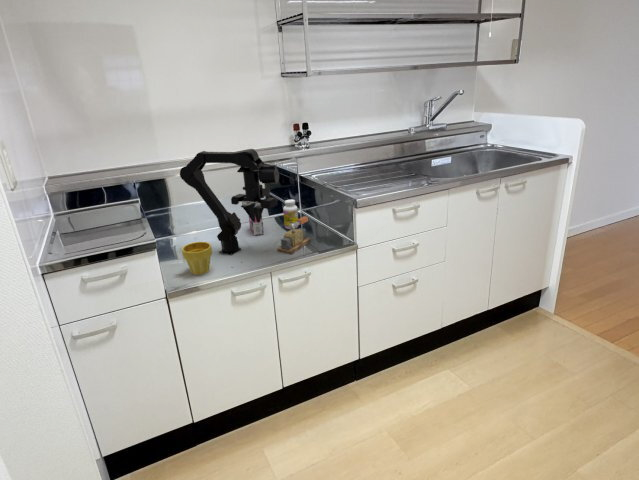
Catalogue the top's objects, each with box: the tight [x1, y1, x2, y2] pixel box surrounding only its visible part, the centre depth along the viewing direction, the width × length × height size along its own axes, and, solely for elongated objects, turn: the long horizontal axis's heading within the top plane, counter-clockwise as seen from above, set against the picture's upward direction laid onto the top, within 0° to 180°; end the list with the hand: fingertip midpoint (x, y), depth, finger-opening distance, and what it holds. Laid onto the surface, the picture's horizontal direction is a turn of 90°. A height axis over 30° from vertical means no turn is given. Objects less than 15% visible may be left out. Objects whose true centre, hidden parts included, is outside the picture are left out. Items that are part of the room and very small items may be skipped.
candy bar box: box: [248, 204, 264, 237], centre depth 186 cm, size 11×5×16 cm, turn 17°
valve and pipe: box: [280, 227, 308, 250], centre depth 169 cm, size 14×5×7 cm, turn 150°
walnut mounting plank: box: [276, 237, 312, 255], centre depth 170 cm, size 15×7×2 cm, turn 150°
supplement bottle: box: [282, 199, 300, 230], centre depth 190 cm, size 7×7×13 cm
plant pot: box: [181, 241, 213, 276], centre depth 151 cm, size 10×10×10 cm
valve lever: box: [290, 215, 309, 229], centre depth 170 cm, size 11×3×2 cm, turn 148°
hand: (256, 222), depth 162 cm, fingers closed
